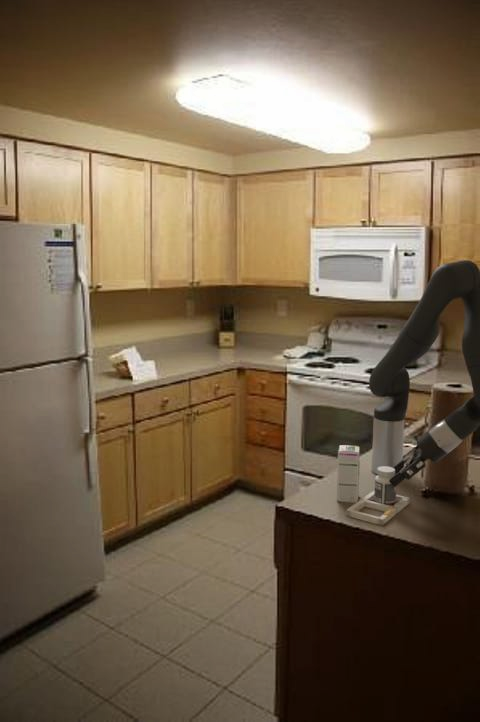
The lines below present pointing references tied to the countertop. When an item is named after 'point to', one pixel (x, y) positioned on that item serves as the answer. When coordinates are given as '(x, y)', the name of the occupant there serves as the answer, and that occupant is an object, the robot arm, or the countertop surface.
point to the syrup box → (348, 473)
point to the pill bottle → (385, 486)
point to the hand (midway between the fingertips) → (392, 478)
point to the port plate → (368, 502)
